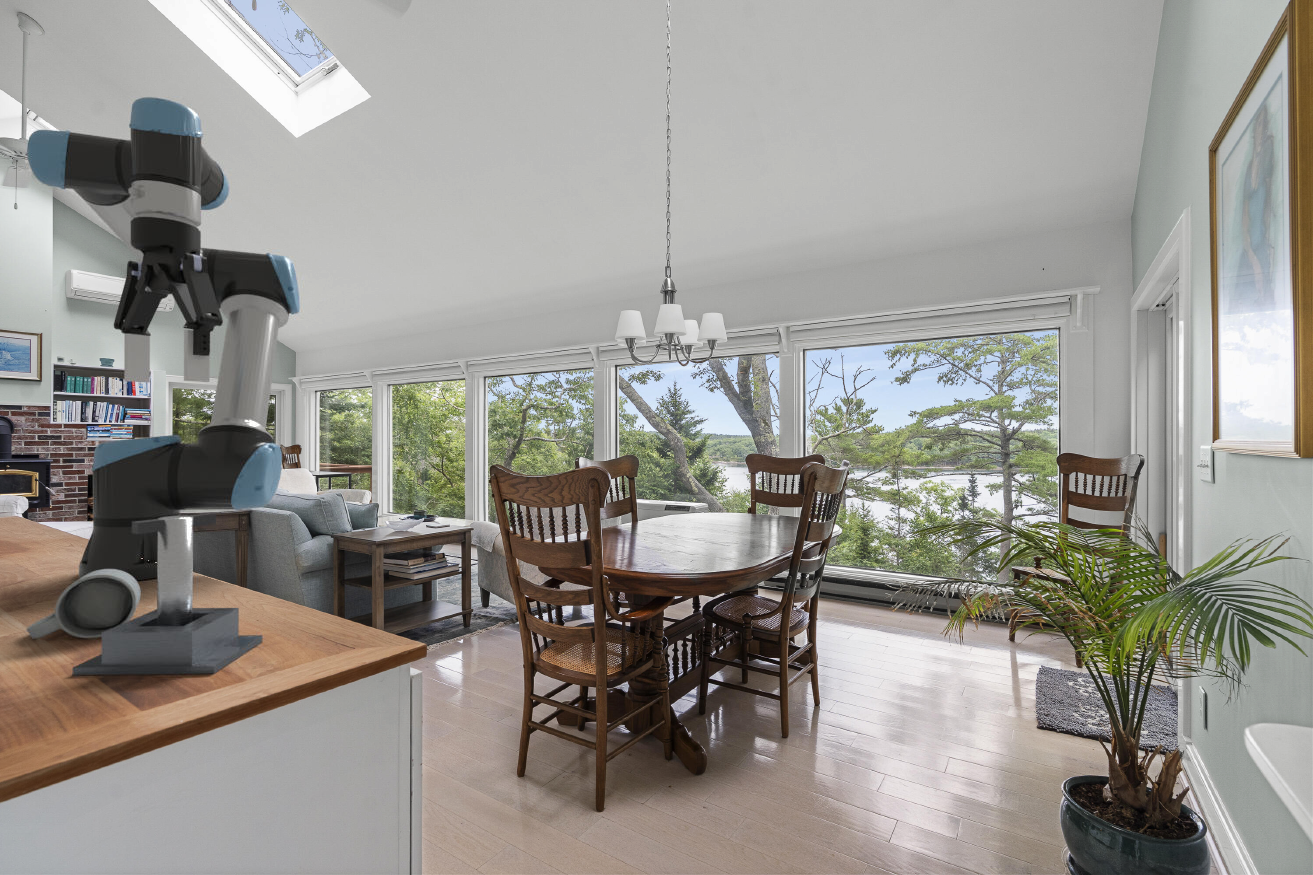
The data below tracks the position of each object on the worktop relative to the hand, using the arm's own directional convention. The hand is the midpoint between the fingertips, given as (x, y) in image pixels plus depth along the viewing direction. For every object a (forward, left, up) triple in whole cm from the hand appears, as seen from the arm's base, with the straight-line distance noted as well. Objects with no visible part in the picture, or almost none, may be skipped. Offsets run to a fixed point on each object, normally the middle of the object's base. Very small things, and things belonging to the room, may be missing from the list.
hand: (166, 381), depth 88 cm
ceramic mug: (+7, -5, -32) cm, 33 cm away
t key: (+16, +11, -31) cm, 36 cm away
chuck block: (+16, +11, -32) cm, 37 cm away
